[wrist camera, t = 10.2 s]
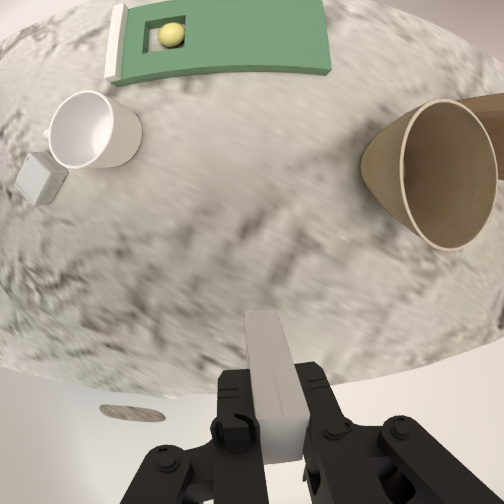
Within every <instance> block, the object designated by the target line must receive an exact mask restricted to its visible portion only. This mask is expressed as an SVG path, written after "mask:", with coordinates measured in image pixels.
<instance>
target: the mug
mask: <svg viewBox="0 0 504 504" xmlns="http://www.w3.org/2000/svg"><path fill="white" fill-rule="evenodd" d="M43 139H44V140H46V141H49V147H50V151H51V153H52V155H53V157H54V158H55V160H56V161H57V162H58V163H59V164H61V165H62V166H64V167H66V168H70V169H82V168H111V167H117V166H120V165H122V164H124V163H126V162H127V161H128V160H130V159H131V158H132V157H133V156H134V154H135V153H136V151H137V150H138V148H139V146H140V143H141V139H142V127H141V123H140V121H139V119H138V117H137V116H136V115H135V113H134V112H132V111H131V110H130V109H128V108H126V107H125V106H123V105H121V104H119V103H117V102H116V101H114V100H112V99H110V98H108V97H106V96H105V95H103V94H101V93H99V92H96V91H92V90H85V91H80V92H77V93H75V94H73V95H71V96H70V97H68V98H67V99H66V100H65V101H64V102H63V103H62V104H61V105H60V106H59V107H58V109H57V110H56V112H55V114H54V116H53V118H52V120H51V123H50V127H49V128H47V129H46V130H45V131H44V132H43Z"/></svg>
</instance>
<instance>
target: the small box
mask: <svg viewBox="0 0 504 504" xmlns="http://www.w3.org/2000/svg"><path fill="white" fill-rule="evenodd" d="M67 174H68V171H67V170H66V169H65V168H64V167H63V166H62V165H61V164H59V163H58V162H57V161H56V160H55V159H54V158H53V157H52V156H51V155H50V154H49V153H48V152H29V153H28V155H27V157H26V159H25V161H24V163H23V165H22V167H21V170H20V172H19V174H18V176H17V178H16V181H15V184H14V186H15V187H16V188H17V190H18V191H19V192H20V193H21V194H22V195H23V196H24V197H25V198H26V199H27V200H28V201H29V202H30V203H31V205H32V206H33V207H36V206H39V205H43V204H46V203H50V202H52V201H53V199H54V197H55V195H56V193H57V191H58V190H59V188H60V186H61V184H62V183H63V181H64V179H65V177H66V176H67Z"/></svg>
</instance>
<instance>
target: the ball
mask: <svg viewBox="0 0 504 504" xmlns="http://www.w3.org/2000/svg"><path fill="white" fill-rule="evenodd" d="M184 38H185V29H184V27H183V26H182V25H181V24H179V23H168V24H166V25H164V26H163V27H162V28H161V29H160V30H159V33H158V39H159V41H160V43H161V44H163V45H165V46H168V47H172V46H176V45H178V44H180V43H181V42H182V41H183V40H184Z"/></svg>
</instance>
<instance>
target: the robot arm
mask: <svg viewBox="0 0 504 504" xmlns="http://www.w3.org/2000/svg"><path fill="white" fill-rule="evenodd" d="M244 319H245V337H246V355H247V366H248V369H240V370H224V371H223V372H222V374H221V375H220V377H219V378H218V392H217V398H218V399H217V417H216V418H215V419H214V420H213V421H212V424H211V427H210V430H211V434H212V439H211V440H210V441H209V442H208V443H206V444H205V445H203V446H200V447H197V448H193V449H189V450H185V451H184V450H183V449H181V448H179V447H177V446H174V445H161V446H157V447H155V448H153V449H152V450H150V451H149V452H148V454H147V455H146V456H145V458H144V460H143V462H142V463H141V465H140V467H139V469H138V471H137V473H136V474H135V476H134V478H133V480H132V482H131V484H130V486H129V487H128V489H127V491H126V493H125V495H124V497H123V499H122V500H121V502H120V504H203V502H204V501H208V500H212V499H214V504H269V500H268V493H267V486H266V479H265V472H264V465H266V464H276V463H284V462H292V461H298V460H302V457H303V455H304V459H305V463H306V465H305V469H304V474H303V482H304V481H306V480H307V484H308V488H309V492H310V496H311V500H312V504H504V501H503V500H501V499H500V498H499V497H498V496H497V495H496V494H495V493H494V492H493V491H492V490H490V489H489V488H488V487H487V486H486V485H485V484H484V483H483V482H482V481H480V480H479V479H478V478H477V477H476V476H475V475H474V474H473V473H472V472H471V471H470V470H468V469H467V468H466V467H465V466H464V465H463V464H462V463H461V462H460V461H459V460H458V459H456V458H455V457H454V456H453V455H452V454H451V453H450V452H449V451H448V450H447V449H446V448H444V447H443V446H442V445H441V444H440V443H439V442H438V441H437V440H436V439H435V438H434V437H433V436H431V435H430V434H429V433H428V432H427V431H426V430H425V429H424V428H423V427H422V426H421V425H420V424H419V423H418V422H416V421H415V420H413V419H412V418H411V417H407V416H404V415H402V416H394V417H391V418H389V419H388V420H386V421H385V422H384V424H383V426H360V425H357V424H353V422H352V421H351V420H349V419H347V418H346V417H344V415H343V414H342V412H341V409H340V407H339V405H338V402H337V400H336V398H335V396H334V393H333V391H332V389H331V387H330V384H329V382H328V380H327V377H326V375H325V373H324V371H323V369H322V368H321V367H320V366H319V365H318V364H316V363H315V362H306V363H298V364H294V362H293V359H292V356H291V353H290V350H289V347H288V344H287V341H286V338H285V335H284V332H283V329H282V325H281V322H280V319H279V316H278V313H277V310H276V309H268V310H254V311H244Z"/></svg>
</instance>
